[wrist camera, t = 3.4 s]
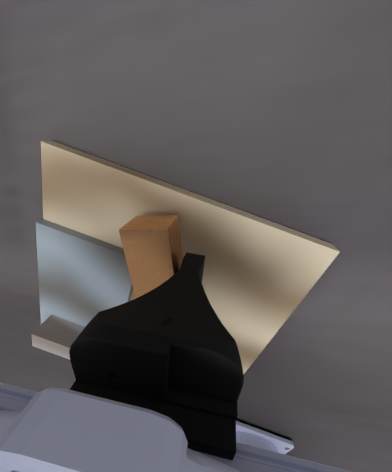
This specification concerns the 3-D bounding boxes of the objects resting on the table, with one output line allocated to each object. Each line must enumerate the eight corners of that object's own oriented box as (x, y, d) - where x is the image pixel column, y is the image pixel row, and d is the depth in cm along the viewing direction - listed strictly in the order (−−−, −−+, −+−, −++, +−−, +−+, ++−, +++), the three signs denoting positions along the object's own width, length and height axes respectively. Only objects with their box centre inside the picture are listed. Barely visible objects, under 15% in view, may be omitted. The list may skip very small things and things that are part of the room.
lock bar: (199, 369, 16) (196, 397, 14) (161, 364, 17) (153, 391, 15) (185, 214, 11) (176, 229, 9) (129, 215, 11) (110, 229, 10)
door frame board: (219, 394, 21) (216, 440, 18) (55, 334, 21) (24, 369, 18) (332, 243, 12) (366, 278, 9) (54, 141, 12) (-6, 141, 9)
